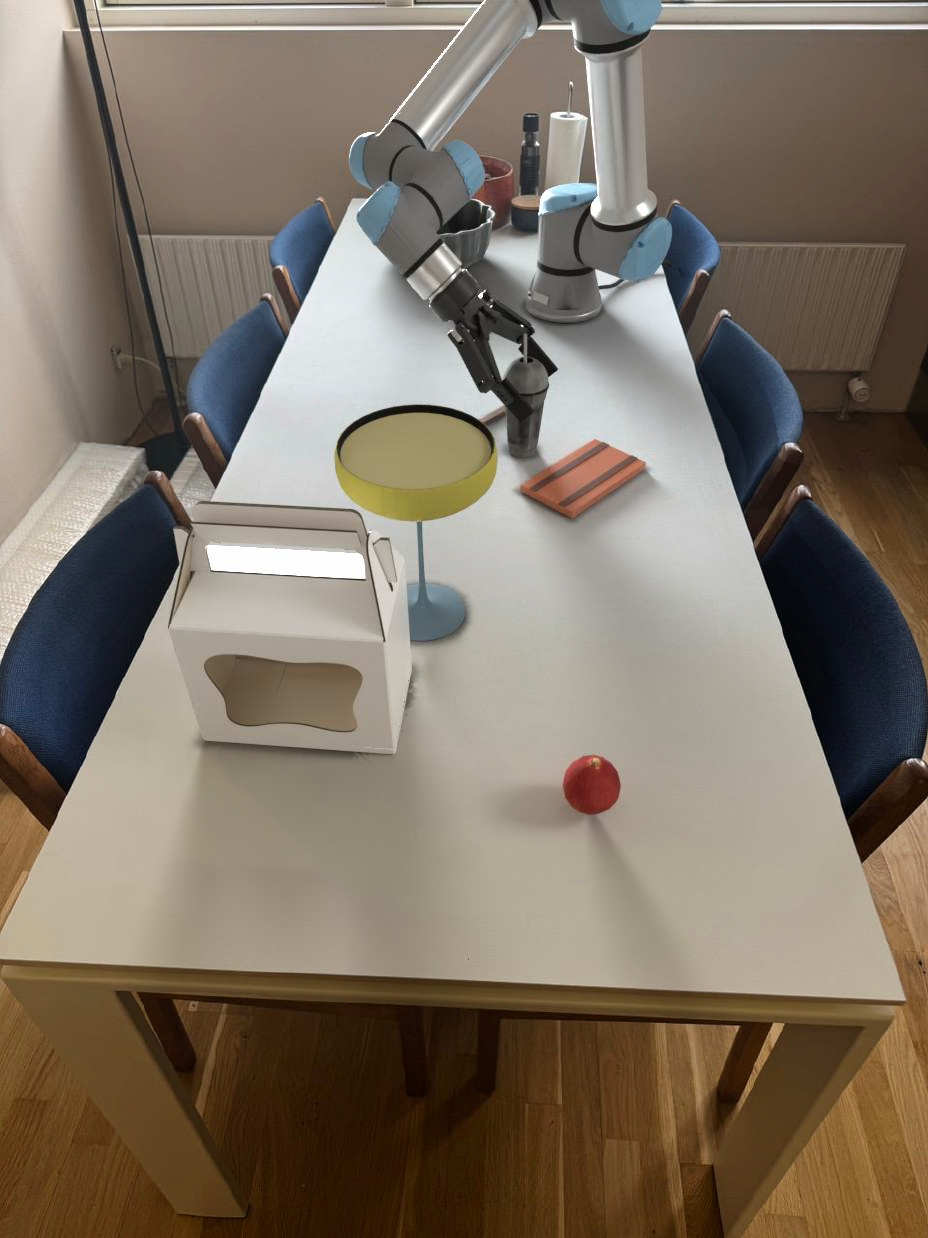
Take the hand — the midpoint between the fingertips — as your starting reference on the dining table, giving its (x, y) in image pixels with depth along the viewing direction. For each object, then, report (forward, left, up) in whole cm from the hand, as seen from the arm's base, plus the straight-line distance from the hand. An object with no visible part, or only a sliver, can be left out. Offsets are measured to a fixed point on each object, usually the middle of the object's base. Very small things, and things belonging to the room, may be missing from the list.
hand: (540, 394), depth 137 cm
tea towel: (+1, +10, -10) cm, 15 cm away
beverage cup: (+1, -2, -10) cm, 11 cm away
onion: (+48, +48, -10) cm, 69 cm away
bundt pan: (-45, -69, -10) cm, 83 cm away
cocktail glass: (+39, +14, -10) cm, 43 cm away
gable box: (+59, +16, -10) cm, 62 cm away
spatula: (+1, -12, -10) cm, 16 cm away
